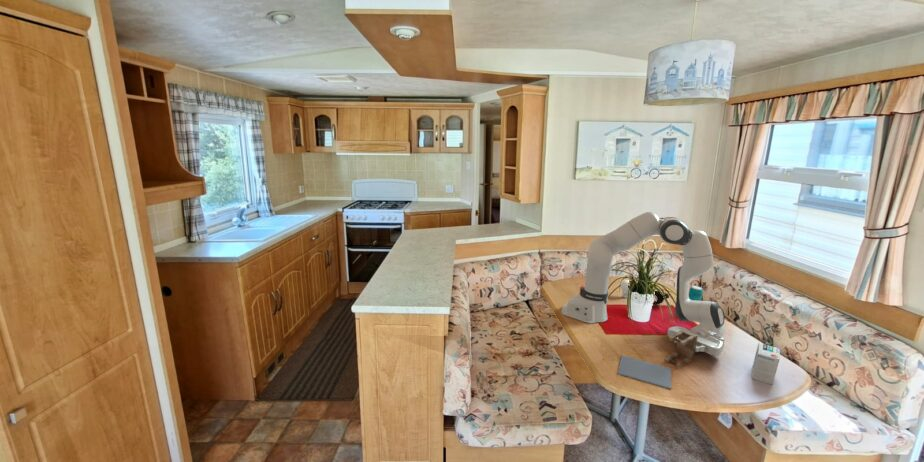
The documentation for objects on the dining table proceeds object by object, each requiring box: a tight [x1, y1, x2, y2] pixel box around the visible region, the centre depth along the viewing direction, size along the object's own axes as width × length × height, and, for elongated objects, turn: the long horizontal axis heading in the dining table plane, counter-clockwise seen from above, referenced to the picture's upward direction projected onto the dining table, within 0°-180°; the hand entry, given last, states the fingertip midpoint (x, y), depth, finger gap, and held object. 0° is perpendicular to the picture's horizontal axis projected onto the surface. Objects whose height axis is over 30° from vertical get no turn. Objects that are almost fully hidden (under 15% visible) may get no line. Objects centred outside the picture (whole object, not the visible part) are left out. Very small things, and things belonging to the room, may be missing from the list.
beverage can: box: [689, 285, 704, 301], centre depth 194 cm, size 6×6×15 cm
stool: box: [664, 329, 698, 369], centre depth 152 cm, size 12×6×11 cm, turn 125°
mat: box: [617, 355, 672, 390], centre depth 145 cm, size 18×14×1 cm
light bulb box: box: [751, 342, 781, 386], centre depth 144 cm, size 11×7×11 cm, turn 140°
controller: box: [653, 291, 670, 305], centre depth 206 cm, size 4×12×10 cm, turn 26°
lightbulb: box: [619, 279, 630, 299], centre depth 213 cm, size 6×6×11 cm
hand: (685, 345), depth 154 cm, fingers closed on stool, 6 cm apart
